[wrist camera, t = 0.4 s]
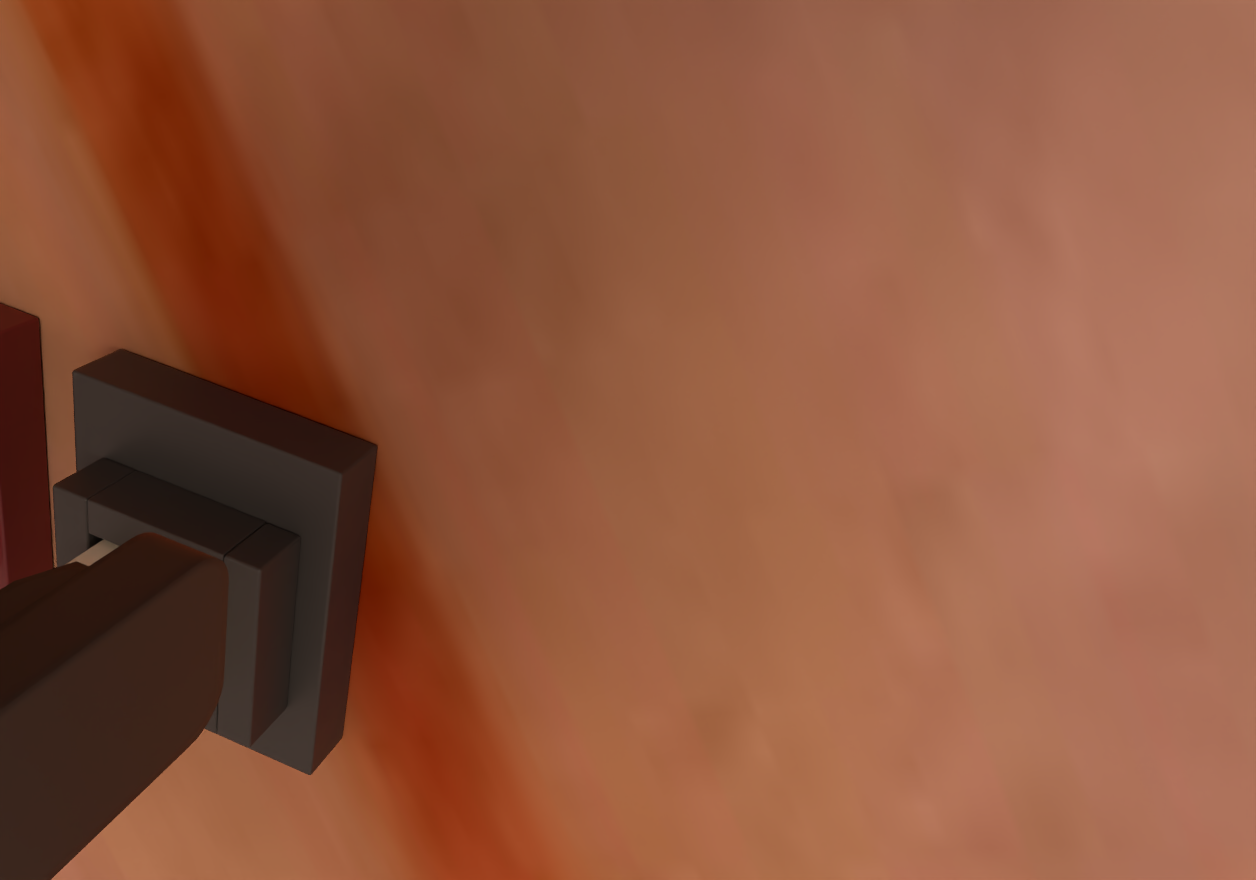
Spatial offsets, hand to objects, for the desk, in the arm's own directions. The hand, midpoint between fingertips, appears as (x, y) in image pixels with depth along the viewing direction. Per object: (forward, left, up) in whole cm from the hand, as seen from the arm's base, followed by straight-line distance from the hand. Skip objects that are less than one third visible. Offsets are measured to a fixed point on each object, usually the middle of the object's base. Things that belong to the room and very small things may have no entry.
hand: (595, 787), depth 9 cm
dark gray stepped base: (+15, -16, -17) cm, 28 cm away
